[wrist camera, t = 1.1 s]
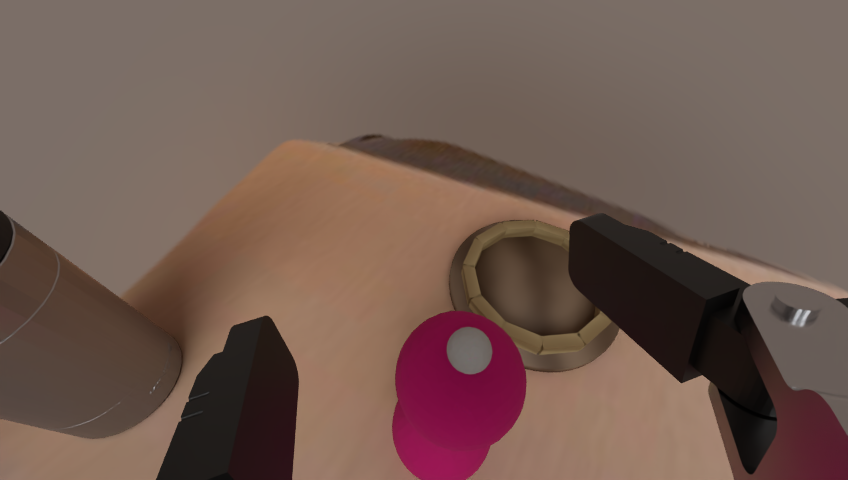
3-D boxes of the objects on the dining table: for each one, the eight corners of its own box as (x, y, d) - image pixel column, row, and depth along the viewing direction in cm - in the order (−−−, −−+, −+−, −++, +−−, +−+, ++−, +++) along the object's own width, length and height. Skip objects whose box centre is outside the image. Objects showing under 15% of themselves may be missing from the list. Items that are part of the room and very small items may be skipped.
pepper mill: (437, 371, 32) (464, 234, 16) (499, 436, 29) (608, 344, 13) (376, 433, 28) (334, 338, 13) (438, 513, 25) (486, 518, 10)
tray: (465, 381, 31) (468, 372, 29) (439, 230, 42) (440, 216, 40) (650, 362, 33) (665, 353, 31) (578, 221, 44) (586, 208, 42)
